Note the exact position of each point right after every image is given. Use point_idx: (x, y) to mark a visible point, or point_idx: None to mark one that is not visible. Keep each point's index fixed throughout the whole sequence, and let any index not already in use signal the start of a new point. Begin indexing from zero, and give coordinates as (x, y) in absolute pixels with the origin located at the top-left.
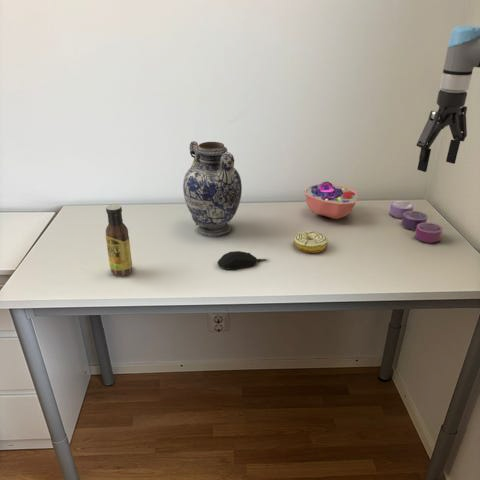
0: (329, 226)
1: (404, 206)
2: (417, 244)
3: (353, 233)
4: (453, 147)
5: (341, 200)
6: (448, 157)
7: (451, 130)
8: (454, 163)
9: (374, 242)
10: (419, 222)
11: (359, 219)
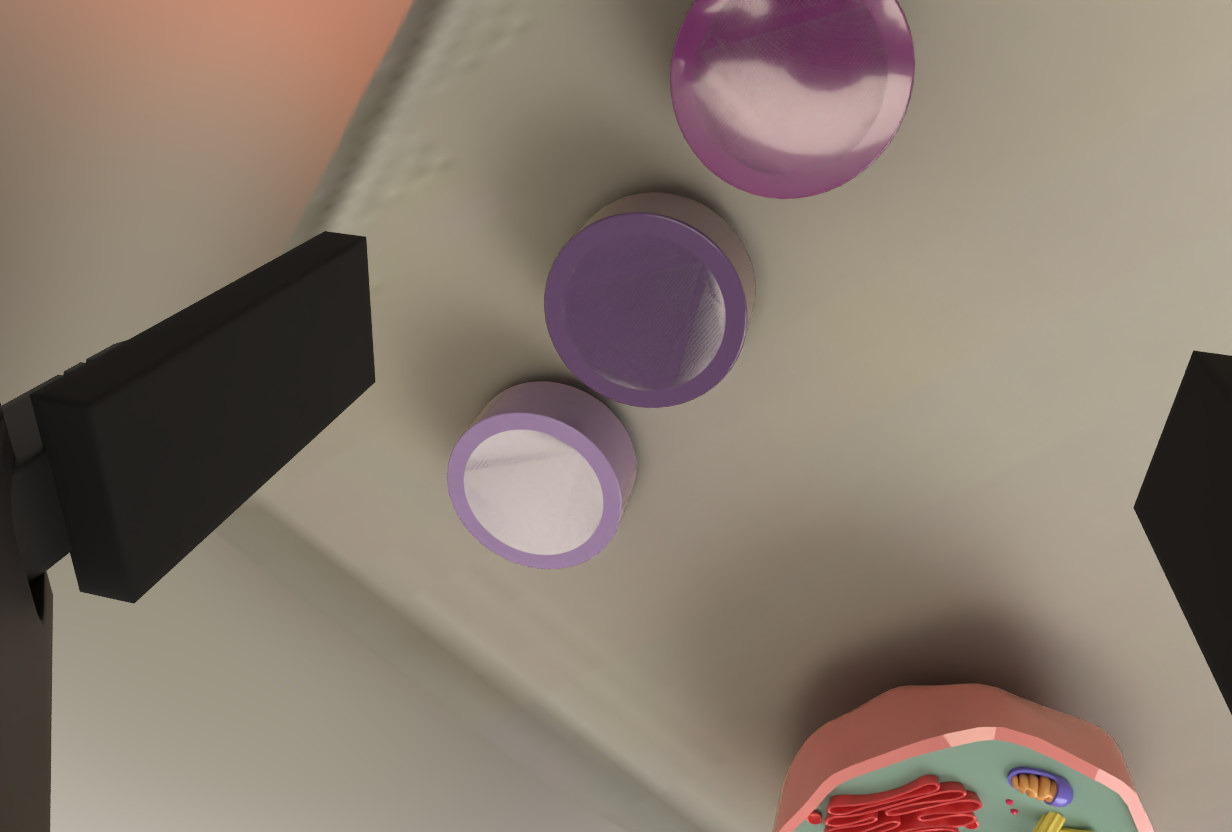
0: (1122, 686)
1: (554, 463)
2: (960, 57)
3: (1122, 520)
4: (210, 427)
5: (1047, 808)
6: (335, 386)
7: (44, 811)
8: (335, 233)
9: (1179, 329)
10: (705, 228)
11: (850, 604)
